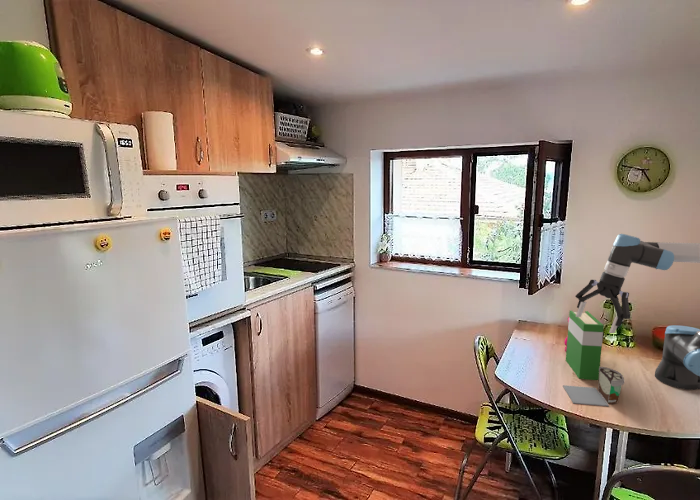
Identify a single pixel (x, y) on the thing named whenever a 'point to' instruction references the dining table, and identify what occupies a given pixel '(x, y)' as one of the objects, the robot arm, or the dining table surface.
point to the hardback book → (584, 345)
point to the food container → (610, 384)
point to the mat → (585, 395)
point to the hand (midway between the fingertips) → (594, 324)
